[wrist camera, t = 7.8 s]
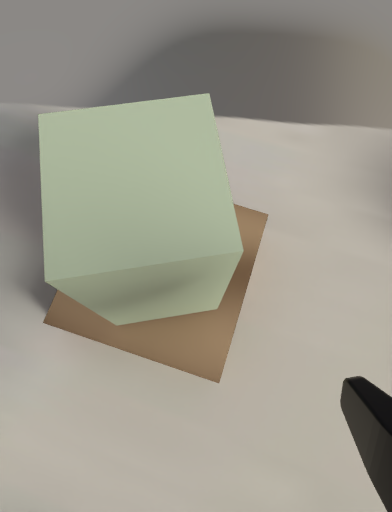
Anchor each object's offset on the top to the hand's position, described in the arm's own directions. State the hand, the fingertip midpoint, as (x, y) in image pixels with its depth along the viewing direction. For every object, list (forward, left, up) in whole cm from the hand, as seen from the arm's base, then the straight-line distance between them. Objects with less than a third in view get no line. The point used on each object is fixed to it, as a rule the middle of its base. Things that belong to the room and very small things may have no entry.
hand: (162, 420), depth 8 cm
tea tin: (+6, +3, -10) cm, 12 cm away
